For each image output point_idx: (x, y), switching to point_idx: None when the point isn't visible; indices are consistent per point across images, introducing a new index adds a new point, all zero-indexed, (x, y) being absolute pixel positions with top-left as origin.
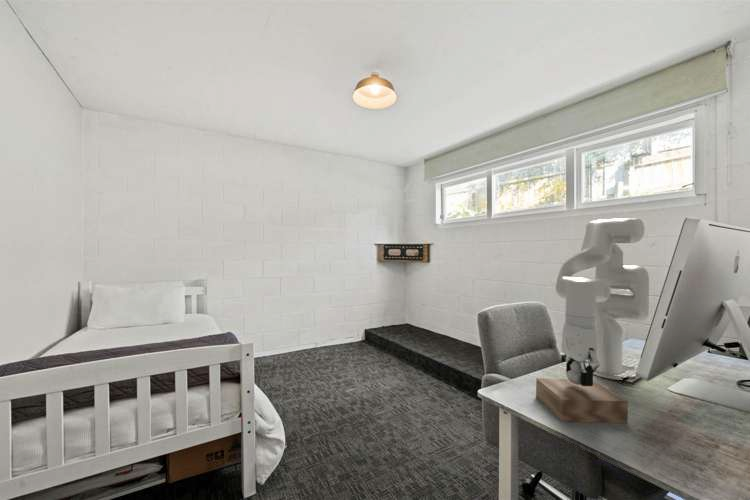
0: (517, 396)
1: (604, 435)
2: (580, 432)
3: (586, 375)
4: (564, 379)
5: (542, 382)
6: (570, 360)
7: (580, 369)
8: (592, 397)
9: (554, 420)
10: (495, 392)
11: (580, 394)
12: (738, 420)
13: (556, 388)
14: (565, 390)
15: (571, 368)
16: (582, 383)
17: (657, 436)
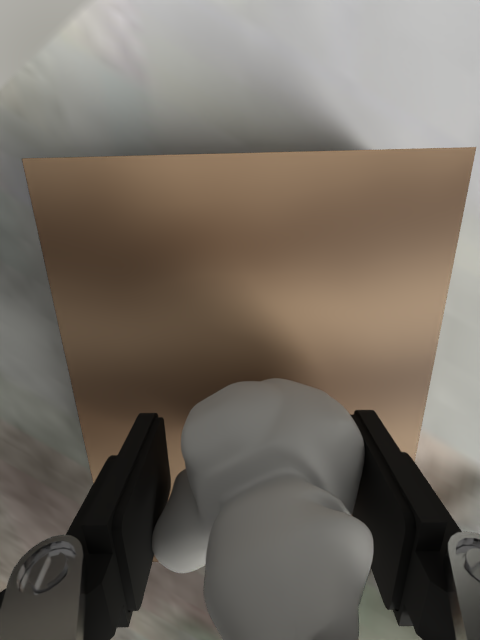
0: (409, 16)
1: (14, 317)
2: (7, 216)
3: (73, 528)
4: (418, 396)
5: (373, 161)
6: (454, 611)
7: (208, 559)
8: (118, 414)
9: (101, 132)
10: None
11: (153, 363)
12: None
13: (243, 230)
14: (211, 289)
15: (290, 487)
16: (135, 429)
17: (66, 501)
